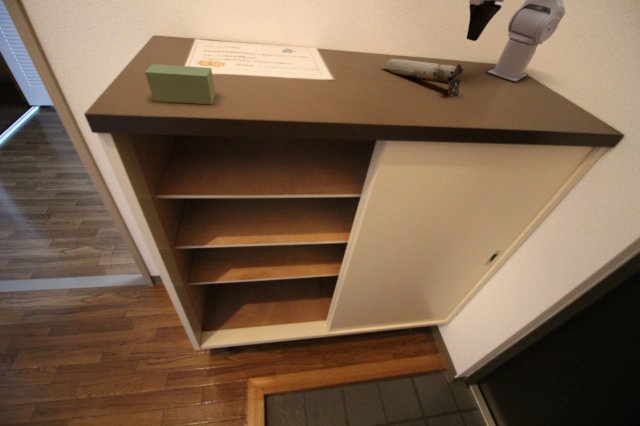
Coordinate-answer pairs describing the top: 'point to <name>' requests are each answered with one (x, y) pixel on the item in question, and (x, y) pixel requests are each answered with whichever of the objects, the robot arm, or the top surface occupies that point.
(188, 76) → the green rectangular block
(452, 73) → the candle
